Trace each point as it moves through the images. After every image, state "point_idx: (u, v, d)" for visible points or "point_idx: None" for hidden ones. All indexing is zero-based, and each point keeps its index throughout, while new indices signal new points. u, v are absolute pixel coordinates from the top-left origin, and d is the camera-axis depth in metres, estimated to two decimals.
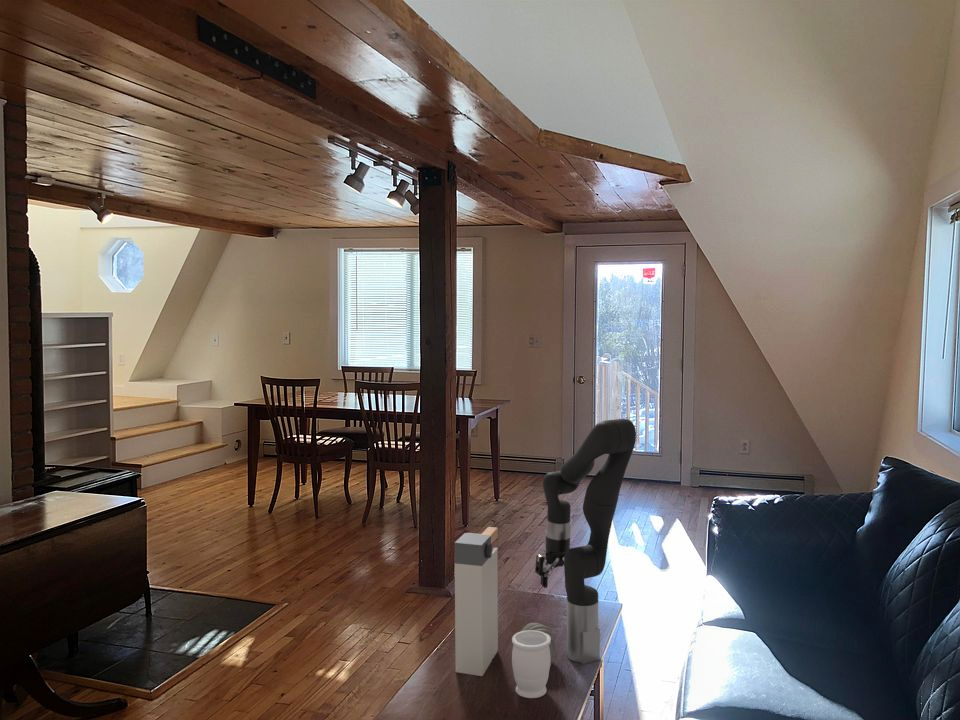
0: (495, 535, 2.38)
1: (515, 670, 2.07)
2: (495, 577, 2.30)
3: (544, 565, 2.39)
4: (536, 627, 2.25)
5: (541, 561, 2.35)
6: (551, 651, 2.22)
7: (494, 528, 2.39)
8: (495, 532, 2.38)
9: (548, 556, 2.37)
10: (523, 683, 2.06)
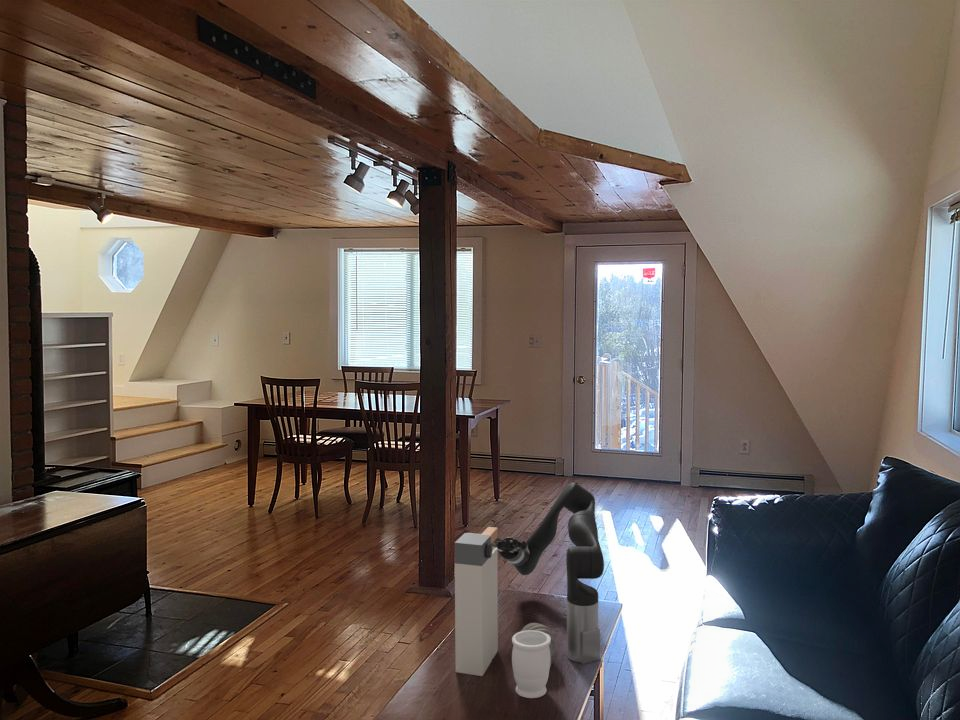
0: (495, 535, 2.38)
1: (515, 670, 2.07)
2: (495, 577, 2.30)
3: None
4: (536, 627, 2.25)
5: None
6: (551, 651, 2.22)
7: (494, 528, 2.39)
8: (495, 532, 2.38)
9: None
10: (523, 683, 2.06)
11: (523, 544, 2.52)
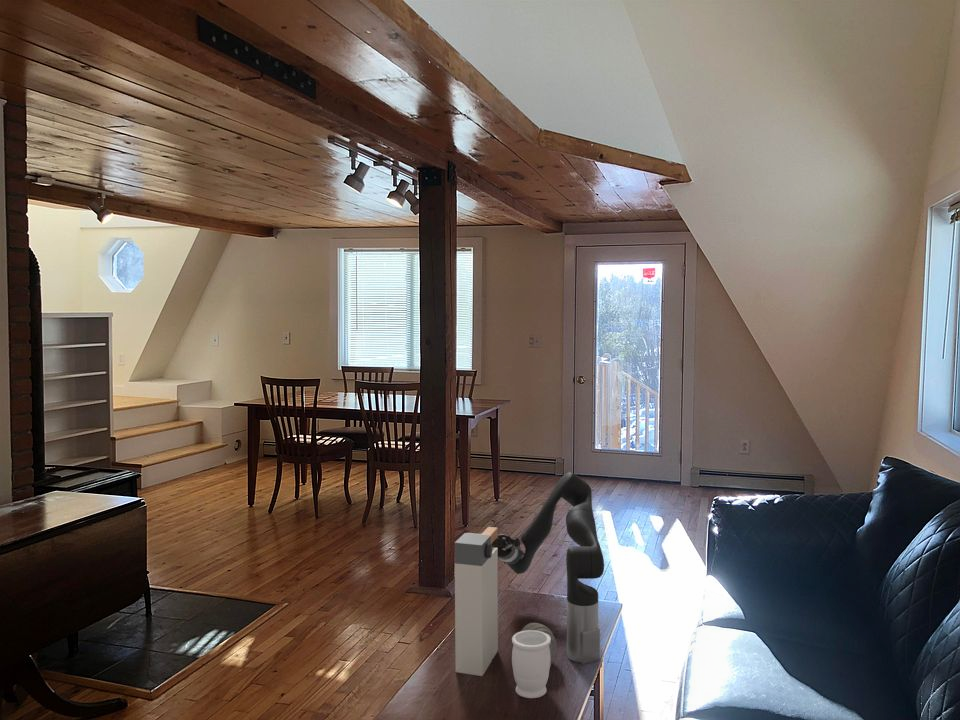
0: (495, 535, 2.38)
1: (515, 670, 2.07)
2: (495, 577, 2.30)
3: None
4: (536, 627, 2.25)
5: None
6: (551, 651, 2.22)
7: (494, 528, 2.39)
8: (495, 532, 2.38)
9: None
10: (523, 683, 2.06)
11: (516, 541, 2.43)
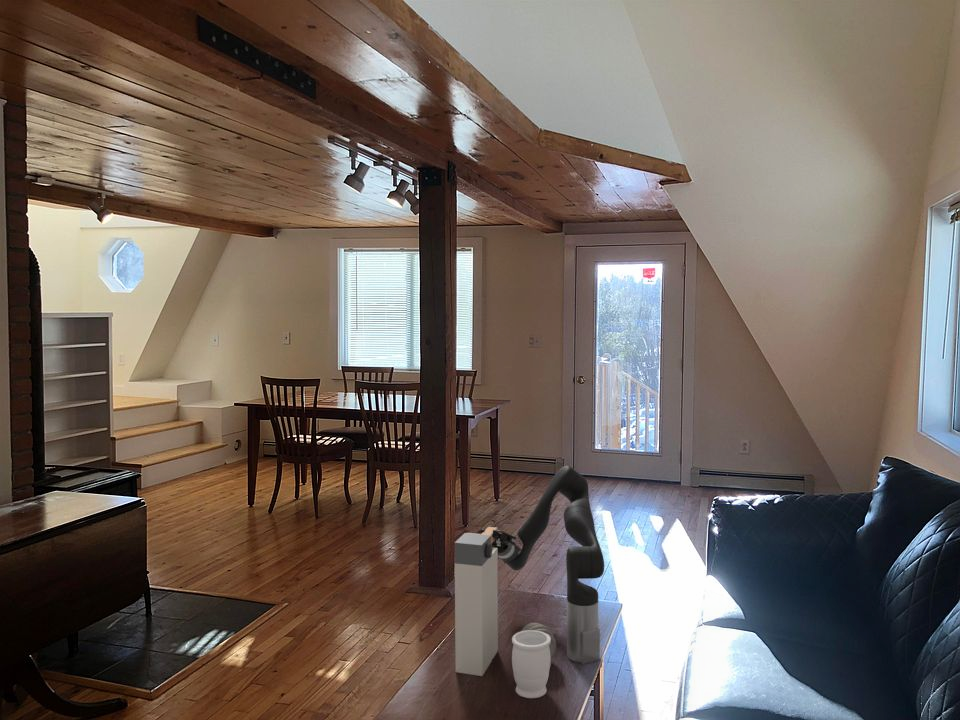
0: None
1: (515, 670, 2.07)
2: (495, 577, 2.30)
3: None
4: (536, 627, 2.25)
5: None
6: (551, 651, 2.22)
7: (494, 528, 2.39)
8: None
9: None
10: (523, 683, 2.06)
11: (503, 536, 2.38)
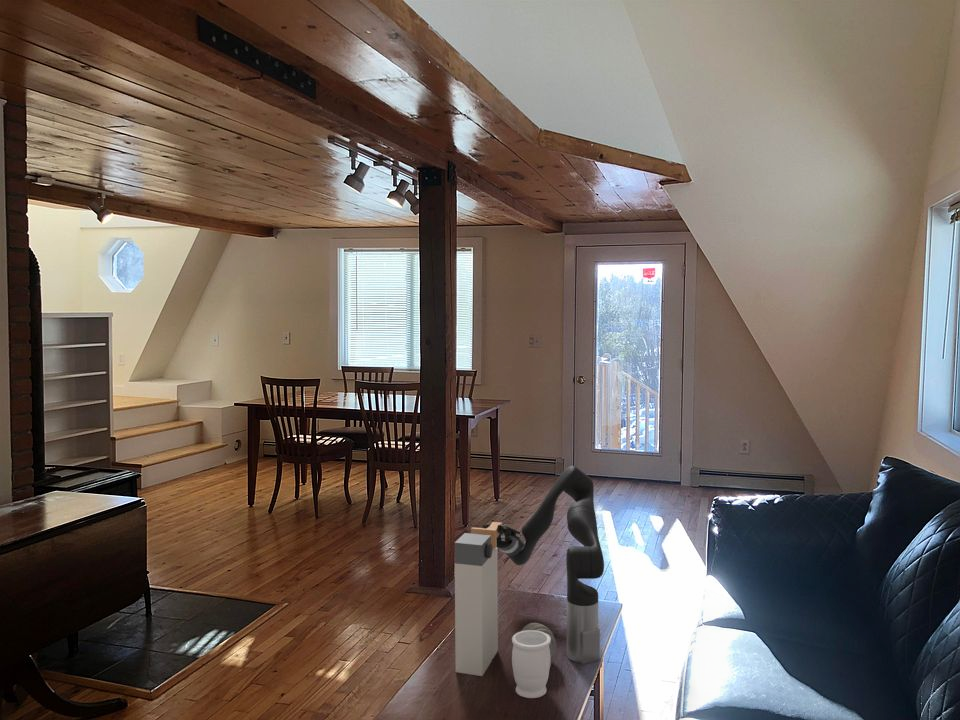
0: None
1: (515, 670, 2.07)
2: (495, 577, 2.30)
3: None
4: (536, 627, 2.25)
5: None
6: (551, 651, 2.22)
7: (499, 523, 2.44)
8: None
9: None
10: (523, 683, 2.06)
11: (507, 531, 2.43)
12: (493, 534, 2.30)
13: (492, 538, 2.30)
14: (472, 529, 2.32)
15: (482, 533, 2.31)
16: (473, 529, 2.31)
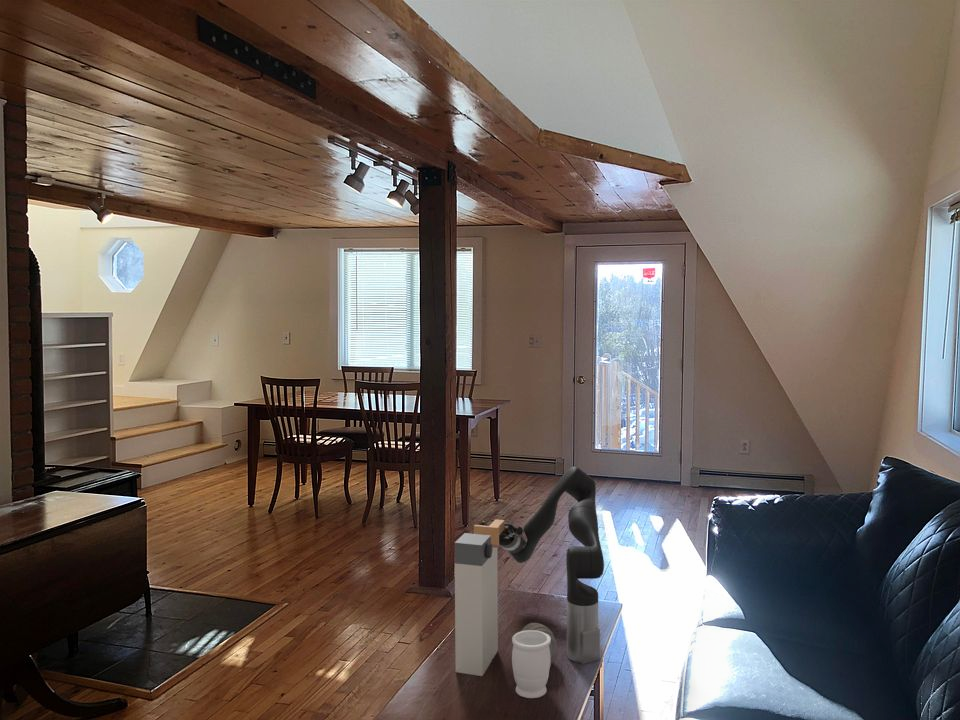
0: (502, 527, 2.46)
1: (515, 670, 2.07)
2: (495, 577, 2.30)
3: None
4: (536, 627, 2.25)
5: None
6: (551, 651, 2.22)
7: (501, 521, 2.47)
8: (502, 524, 2.46)
9: None
10: (523, 683, 2.06)
11: (519, 530, 2.46)
12: (495, 531, 2.32)
13: (494, 535, 2.33)
14: (475, 526, 2.34)
15: (485, 530, 2.33)
16: (476, 526, 2.34)
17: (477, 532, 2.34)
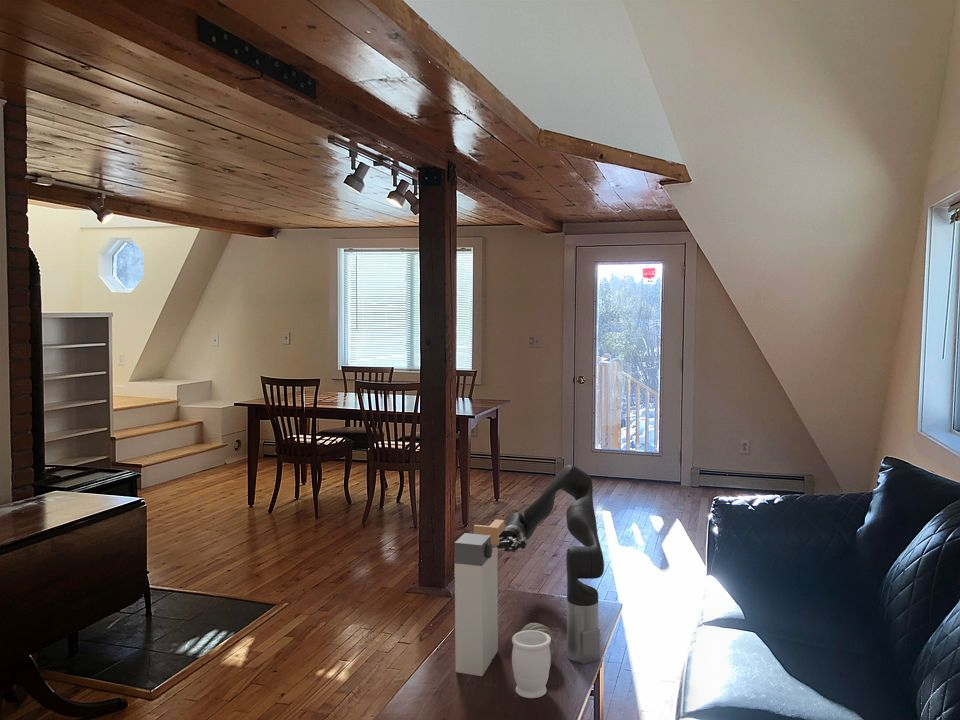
0: (502, 527, 2.46)
1: (515, 670, 2.07)
2: (495, 577, 2.30)
3: None
4: (536, 627, 2.25)
5: None
6: (551, 651, 2.22)
7: (501, 521, 2.47)
8: (502, 524, 2.46)
9: None
10: (523, 683, 2.06)
11: (522, 544, 2.55)
12: (495, 531, 2.32)
13: (494, 535, 2.33)
14: (475, 526, 2.34)
15: (485, 530, 2.33)
16: (476, 526, 2.34)
17: (477, 532, 2.34)
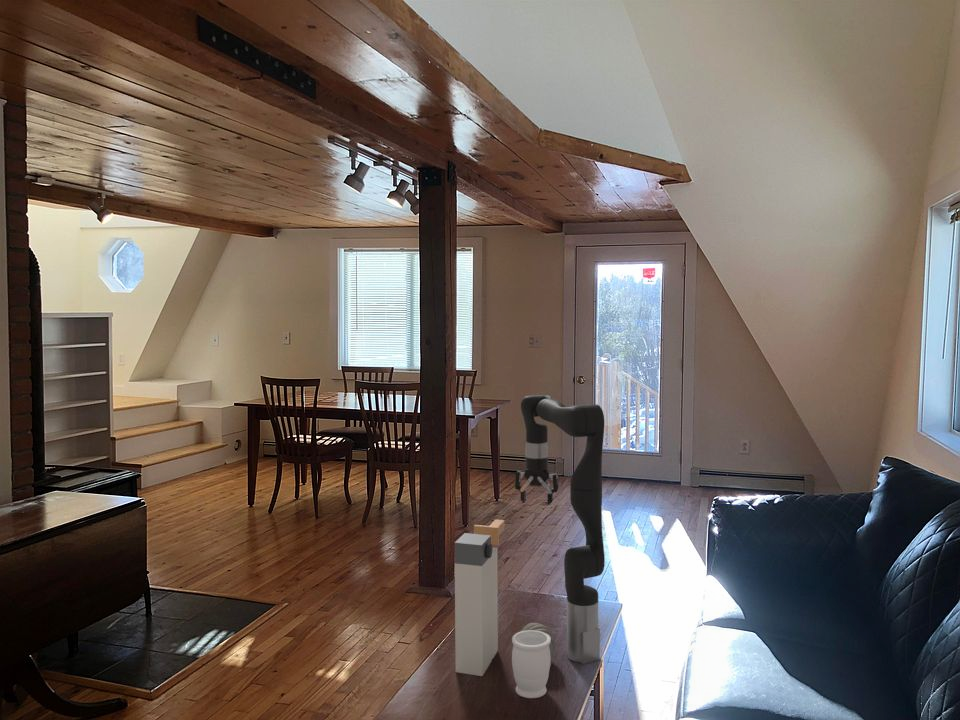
0: (502, 527, 2.46)
1: (515, 670, 2.07)
2: (495, 577, 2.30)
3: None
4: (536, 627, 2.25)
5: (516, 476, 2.57)
6: (551, 651, 2.22)
7: (501, 521, 2.47)
8: (502, 524, 2.46)
9: (524, 473, 2.56)
10: (523, 683, 2.06)
11: (555, 491, 2.55)
12: (495, 531, 2.32)
13: (494, 535, 2.33)
14: (475, 526, 2.34)
15: (485, 530, 2.33)
16: (476, 526, 2.34)
17: (477, 532, 2.34)
